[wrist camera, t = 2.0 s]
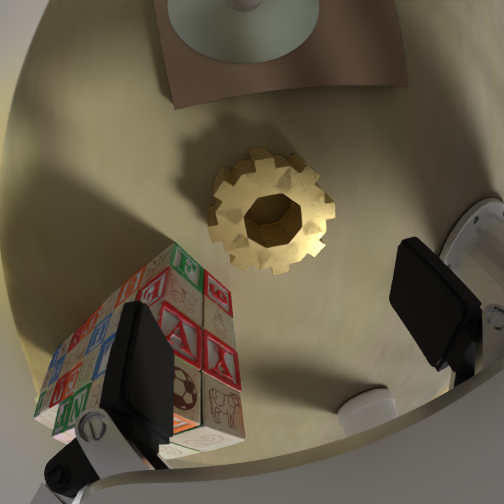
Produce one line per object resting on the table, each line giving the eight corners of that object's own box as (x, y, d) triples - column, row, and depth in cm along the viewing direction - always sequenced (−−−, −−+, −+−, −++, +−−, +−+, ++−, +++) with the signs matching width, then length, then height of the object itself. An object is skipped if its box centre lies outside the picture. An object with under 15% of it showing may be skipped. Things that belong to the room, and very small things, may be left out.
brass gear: (313, 139, 16) (331, 149, 14) (321, 238, 20) (335, 261, 17) (197, 160, 16) (193, 173, 14) (223, 258, 20) (224, 284, 17)
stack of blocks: (97, 377, 27) (79, 468, 17) (54, 349, 24) (24, 442, 14) (232, 290, 22) (249, 443, 11) (175, 237, 19) (143, 404, 8)
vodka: (399, 387, 37) (455, 536, 11) (359, 415, 40) (402, 554, 15) (368, 383, 33) (428, 563, 8) (324, 414, 37) (366, 576, 12)
